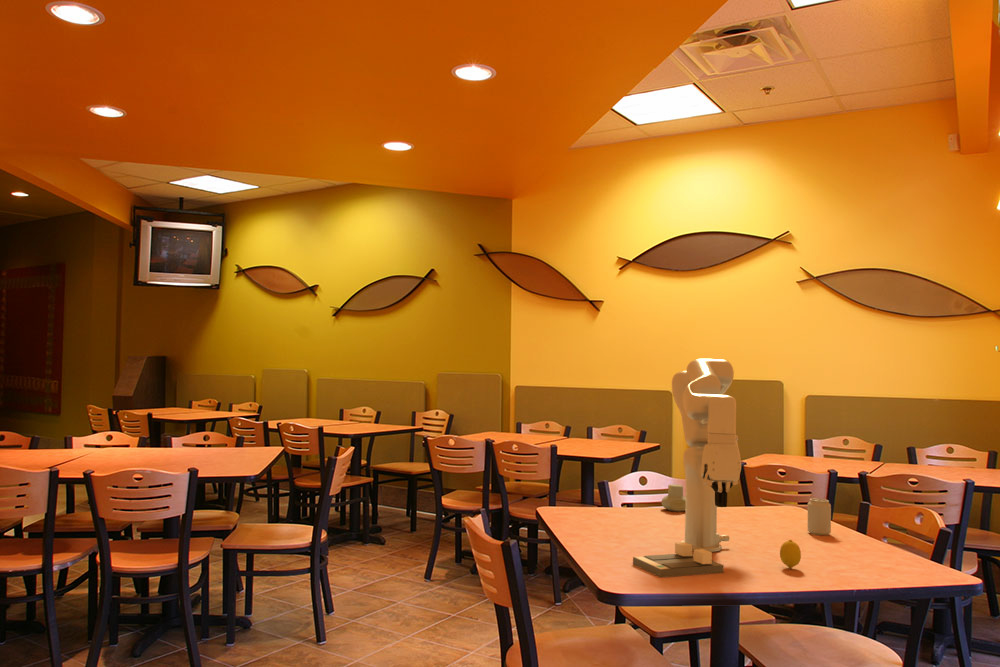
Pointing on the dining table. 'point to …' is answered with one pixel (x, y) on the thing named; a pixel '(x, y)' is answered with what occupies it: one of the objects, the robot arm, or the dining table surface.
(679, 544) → the switch tab
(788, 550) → the lemon
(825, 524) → the can
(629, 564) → the dining table surface
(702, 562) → the switch tab
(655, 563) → the switch panel
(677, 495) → the air freshener
